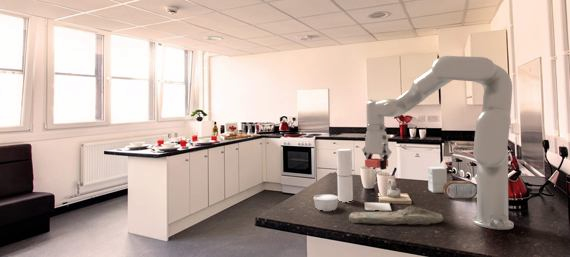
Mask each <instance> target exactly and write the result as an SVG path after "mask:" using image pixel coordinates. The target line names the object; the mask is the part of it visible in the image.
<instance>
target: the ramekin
mask: <svg viewBox="0 0 570 257" xmlns="http://www.w3.org/2000/svg"><path fill="white" fill-rule="evenodd" d="M313 201H314V202H313V203H314V207H315V209H316V208H317V209H316V210H317V211H320V210H323V211H322V212H331V211H332V210H333V211H335V210H336V209H337V208H338V202H339V201H338V195H335V194H328V193H327V194H316V195H314V196H313Z"/></svg>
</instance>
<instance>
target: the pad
mask: <svg viewBox="0 0 570 257" xmlns="http://www.w3.org/2000/svg"><path fill="white" fill-rule="evenodd" d="M390 204H391V203H380V202H364V210H365V211H375V210H379V211H378V212H392V207H391V205H390Z"/></svg>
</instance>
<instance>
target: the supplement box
mask: <svg viewBox="0 0 570 257" xmlns="http://www.w3.org/2000/svg"><path fill="white" fill-rule="evenodd" d="M427 181H428V182H427V183H428V184H427V185H428V188H427V189H428V191H430V192H431V193H433V194H434V193H439V194H444V192H443V187H444V185H445V184H446V183H447V182H448V170H447V168H446V167H443V166H427Z"/></svg>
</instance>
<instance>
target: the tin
mask: <svg viewBox="0 0 570 257" xmlns="http://www.w3.org/2000/svg"><path fill="white" fill-rule="evenodd" d="M443 192H444V193H443V194H444V195H445V196H446V197H447V198H449V199H455V200H459V199H461V200H462V199H463V200H466V199H468V200H469V199H474V198H475V197H477V184H475V183H473V182H472V181H471V180H470V181H469V180H449V181H447V183H446V184H445V185H444V187H443Z"/></svg>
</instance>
